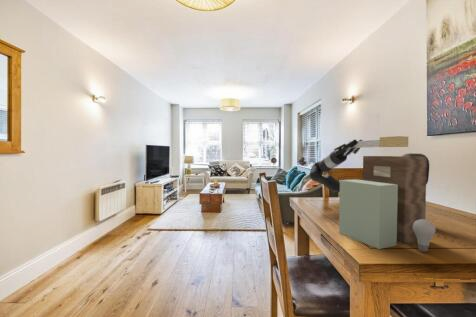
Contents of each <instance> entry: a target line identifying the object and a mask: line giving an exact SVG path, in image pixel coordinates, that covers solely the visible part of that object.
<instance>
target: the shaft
mask: <svg viewBox="0 0 476 317" xmlns="http://www.w3.org/2000/svg"><path fill="white" fill-rule="evenodd" d="M352 141H353V140H350V141H348V143H350V142H352ZM351 148H360V149H361V148H365V149H366V148H409V136H407V135H406V136H405V135H404V136H402V135H401V136H400V135H396V136H395V135H394V136H379V139H373V140H372V139H371V140H362V141H359V140H357V144H356V145H354V146H353V147H351Z"/></svg>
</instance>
